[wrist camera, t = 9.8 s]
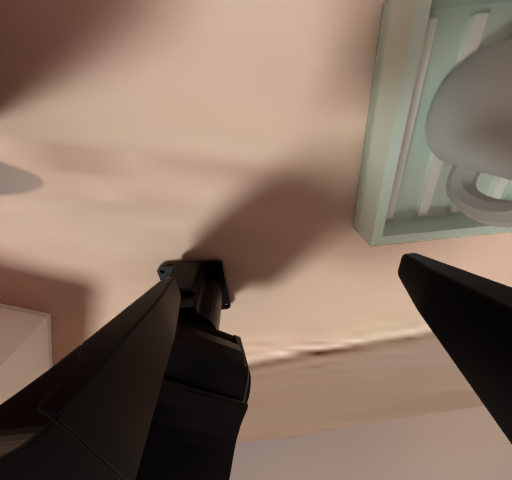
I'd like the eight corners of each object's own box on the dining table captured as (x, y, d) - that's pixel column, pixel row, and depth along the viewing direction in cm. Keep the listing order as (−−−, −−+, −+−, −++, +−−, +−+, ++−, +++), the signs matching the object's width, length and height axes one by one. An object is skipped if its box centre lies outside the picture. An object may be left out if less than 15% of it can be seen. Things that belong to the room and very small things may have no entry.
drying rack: (494, 212, 22) (535, 229, 19) (352, 227, 22) (370, 246, 19) (603, -21, 14) (702, -58, 11) (383, 2, 14) (421, -27, 11)
